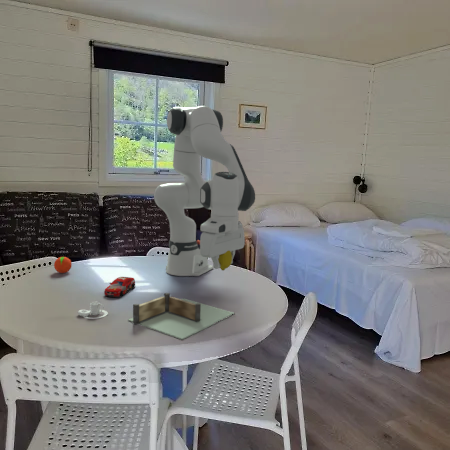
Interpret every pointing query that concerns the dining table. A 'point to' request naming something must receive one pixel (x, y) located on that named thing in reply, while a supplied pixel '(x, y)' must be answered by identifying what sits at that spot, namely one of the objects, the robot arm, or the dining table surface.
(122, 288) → the race car
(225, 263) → the lemon
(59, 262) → the clementine
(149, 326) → the mat
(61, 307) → the dining table surface
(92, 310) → the teacup and saucer
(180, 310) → the fence panel
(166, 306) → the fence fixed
